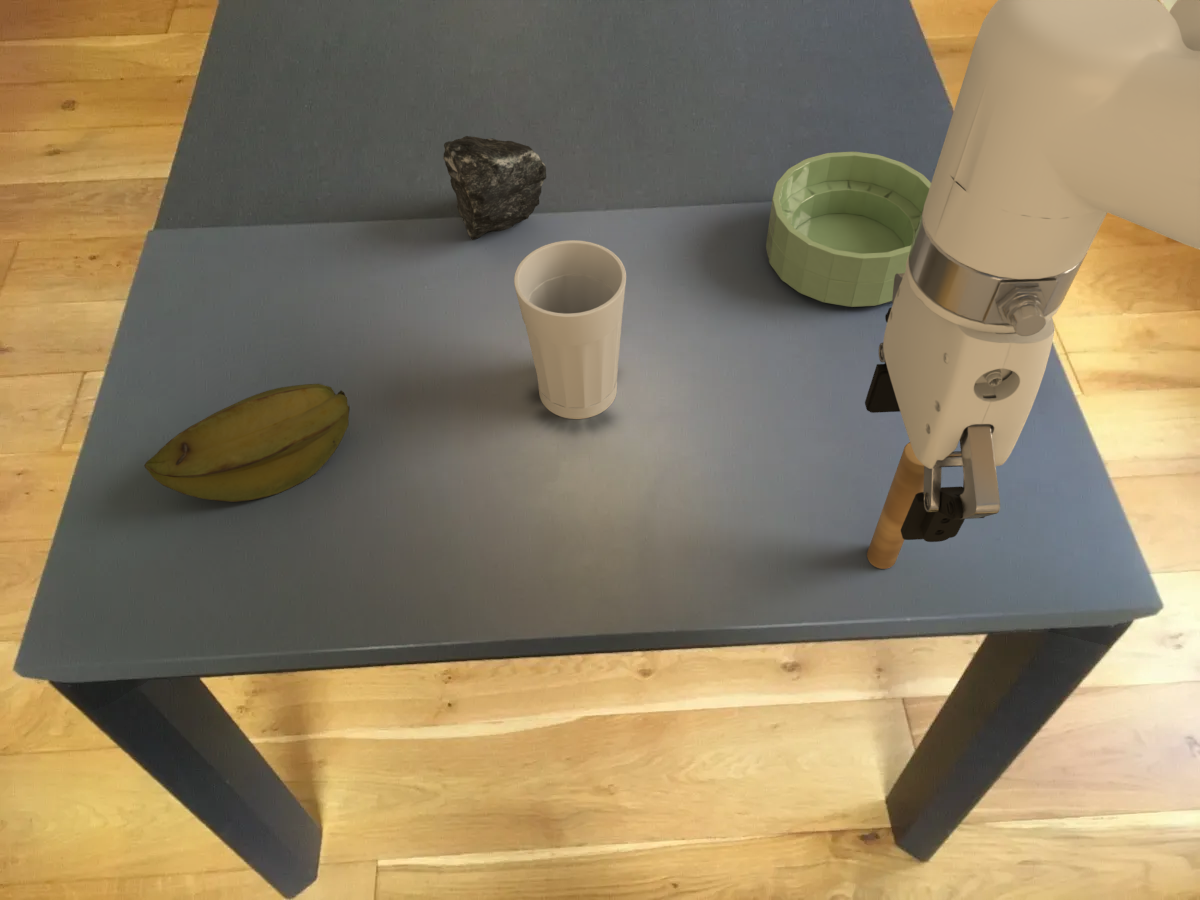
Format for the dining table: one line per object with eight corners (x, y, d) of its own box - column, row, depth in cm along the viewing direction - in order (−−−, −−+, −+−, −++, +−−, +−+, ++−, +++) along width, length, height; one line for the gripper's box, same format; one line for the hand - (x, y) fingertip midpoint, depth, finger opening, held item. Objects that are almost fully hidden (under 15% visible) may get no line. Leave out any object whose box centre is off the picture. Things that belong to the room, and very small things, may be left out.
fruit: (306, 540, 70) (280, 487, 65) (161, 506, 73) (124, 452, 67) (371, 422, 77) (351, 365, 72) (236, 394, 79) (207, 337, 74)
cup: (645, 376, 79) (647, 263, 70) (592, 442, 75) (586, 331, 66) (564, 340, 82) (555, 227, 72) (509, 401, 78) (491, 290, 68)
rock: (489, 262, 88) (475, 170, 80) (441, 225, 92) (423, 133, 84) (554, 223, 91) (547, 130, 83) (506, 189, 95) (494, 96, 87)
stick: (892, 544, 69) (933, 438, 59) (898, 568, 67) (941, 464, 58) (863, 545, 69) (900, 440, 59) (870, 570, 67) (908, 466, 58)
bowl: (931, 218, 90) (948, 163, 85) (921, 324, 82) (938, 269, 77) (779, 196, 93) (786, 142, 88) (753, 296, 84) (760, 242, 80)
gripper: (1139, 388, 41) (1009, 588, 55) (1014, 144, 52) (931, 362, 65) (964, 396, 41) (877, 594, 55) (875, 150, 52) (820, 367, 65)
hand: (907, 468), depth 60 cm, fingers open, 9 cm apart
